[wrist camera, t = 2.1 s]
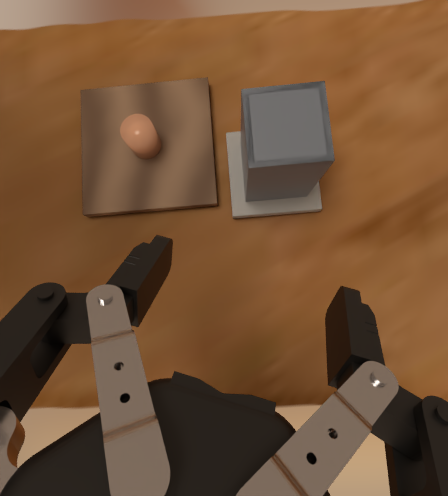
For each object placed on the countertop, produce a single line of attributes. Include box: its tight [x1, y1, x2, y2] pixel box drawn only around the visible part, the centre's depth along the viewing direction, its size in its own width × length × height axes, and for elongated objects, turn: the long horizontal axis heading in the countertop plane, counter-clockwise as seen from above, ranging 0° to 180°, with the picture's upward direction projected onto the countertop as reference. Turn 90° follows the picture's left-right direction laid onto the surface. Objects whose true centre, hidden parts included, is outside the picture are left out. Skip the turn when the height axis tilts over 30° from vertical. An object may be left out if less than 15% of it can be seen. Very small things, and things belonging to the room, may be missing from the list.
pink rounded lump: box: [120, 114, 161, 159], centre depth 31 cm, size 3×3×3 cm
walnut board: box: [81, 77, 218, 217], centre depth 33 cm, size 14×14×1 cm
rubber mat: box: [226, 132, 322, 219], centre depth 32 cm, size 9×9×1 cm
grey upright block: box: [240, 81, 335, 202], centre depth 27 cm, size 6×6×9 cm
